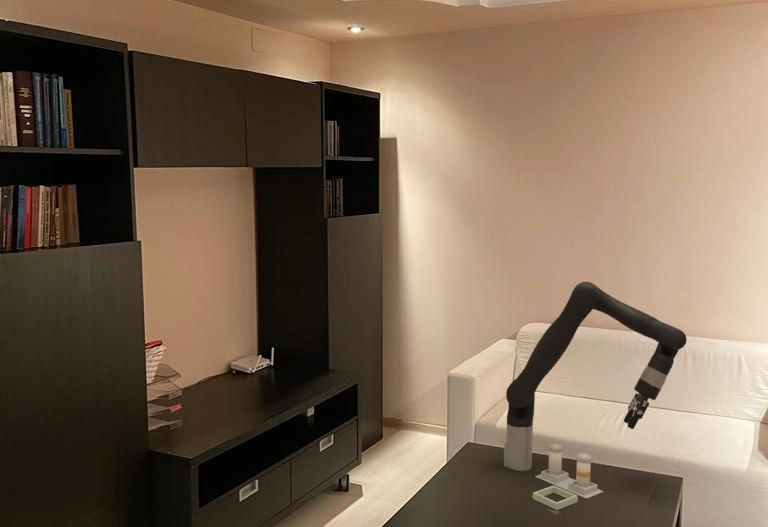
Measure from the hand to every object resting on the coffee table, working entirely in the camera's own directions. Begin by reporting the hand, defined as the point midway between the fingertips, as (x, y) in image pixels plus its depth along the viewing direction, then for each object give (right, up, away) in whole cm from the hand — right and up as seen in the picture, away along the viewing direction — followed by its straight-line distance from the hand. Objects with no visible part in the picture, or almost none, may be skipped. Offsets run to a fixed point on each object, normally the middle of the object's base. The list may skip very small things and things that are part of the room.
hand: (628, 425), depth 242 cm
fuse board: (-19, -22, +4) cm, 30 cm away
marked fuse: (-15, -21, -1) cm, 26 cm away
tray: (-27, -24, -9) cm, 37 cm away
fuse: (-22, -20, +9) cm, 32 cm away
